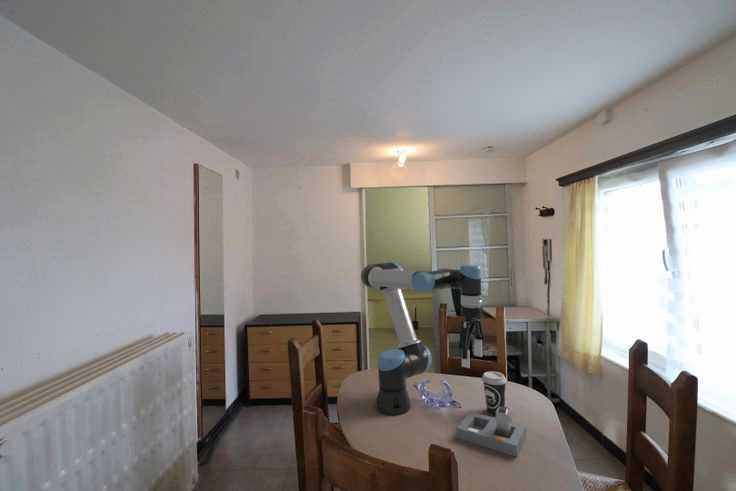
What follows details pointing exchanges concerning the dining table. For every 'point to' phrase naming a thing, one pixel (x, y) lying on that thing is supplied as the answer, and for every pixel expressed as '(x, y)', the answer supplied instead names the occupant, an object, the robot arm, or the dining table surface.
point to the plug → (503, 422)
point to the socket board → (491, 434)
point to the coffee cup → (494, 390)
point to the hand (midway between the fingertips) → (472, 361)
